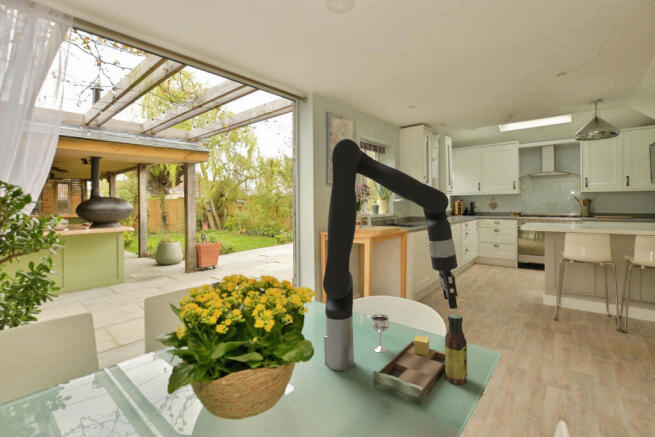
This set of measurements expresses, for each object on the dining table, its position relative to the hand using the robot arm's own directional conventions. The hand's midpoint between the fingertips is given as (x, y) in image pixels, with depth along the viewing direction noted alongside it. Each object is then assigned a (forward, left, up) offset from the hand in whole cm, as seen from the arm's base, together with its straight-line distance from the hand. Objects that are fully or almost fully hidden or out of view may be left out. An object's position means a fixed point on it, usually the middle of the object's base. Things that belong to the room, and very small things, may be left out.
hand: (450, 303), depth 97 cm
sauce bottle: (+3, -4, -23) cm, 23 cm away
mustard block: (-11, +3, -20) cm, 23 cm away
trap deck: (-9, -8, -22) cm, 25 cm away
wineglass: (-25, -1, -23) cm, 34 cm away
